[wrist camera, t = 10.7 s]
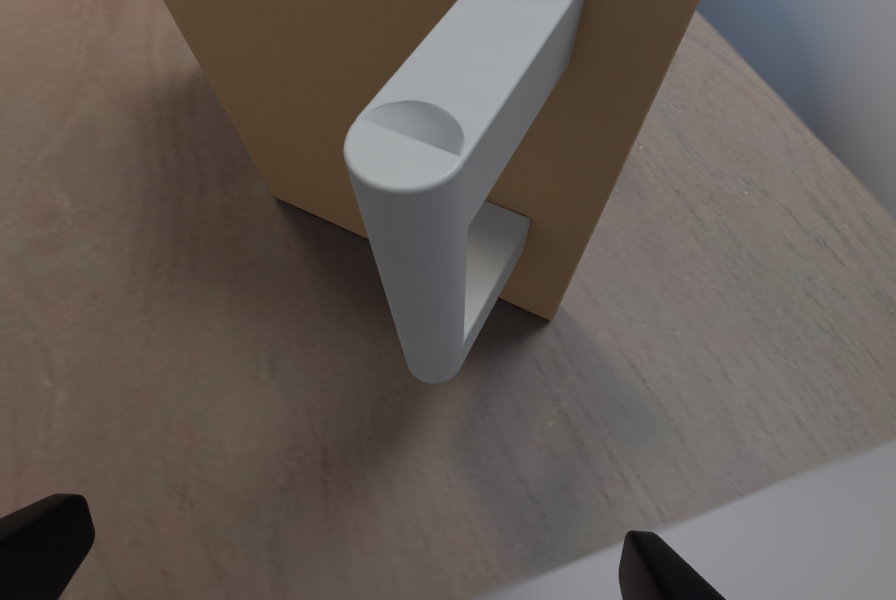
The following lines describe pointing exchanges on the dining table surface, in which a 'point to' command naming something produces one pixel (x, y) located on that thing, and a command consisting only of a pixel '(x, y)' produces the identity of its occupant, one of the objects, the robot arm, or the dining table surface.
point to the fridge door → (443, 135)
